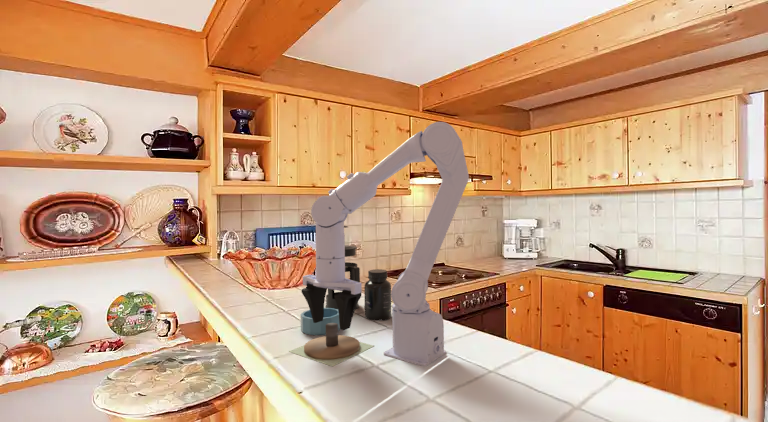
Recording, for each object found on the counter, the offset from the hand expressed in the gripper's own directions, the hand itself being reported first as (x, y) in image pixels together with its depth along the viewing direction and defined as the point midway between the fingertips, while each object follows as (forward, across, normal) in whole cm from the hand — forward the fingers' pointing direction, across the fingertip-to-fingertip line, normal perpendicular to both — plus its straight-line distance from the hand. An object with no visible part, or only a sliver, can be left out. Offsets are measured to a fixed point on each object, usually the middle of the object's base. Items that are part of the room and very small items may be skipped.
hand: (331, 325), depth 78 cm
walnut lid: (+5, 0, 0) cm, 5 cm away
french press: (+5, -20, +25) cm, 32 cm away
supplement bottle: (+5, -6, +23) cm, 24 cm away
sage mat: (+5, 0, 0) cm, 5 cm away
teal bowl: (+5, -11, +8) cm, 14 cm away
